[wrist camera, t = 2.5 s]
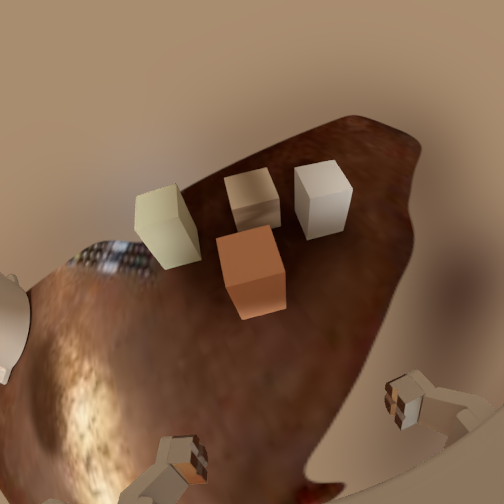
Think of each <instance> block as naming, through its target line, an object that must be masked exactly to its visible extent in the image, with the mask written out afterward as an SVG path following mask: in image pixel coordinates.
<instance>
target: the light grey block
mask: <svg viewBox="0 0 504 504" xmlns="http://www.w3.org/2000/svg"><path fill="white" fill-rule="evenodd" d="M294 172H295V213H296V215H297V217H298V220H299V222H300V224H301V227H302V229H303V232H304V234H305V236H306V239H307V240H310V239H314V238H318V237H321V236H325V235H329V234H333V233H337V232H340V231H343V229H344V225H345V221H346V217H347V213H348V209H349V205H350V200H351V196H352V191H353V188H352V187H351V185H350V183H349V182H348V180H347V179H346V177H345V176H344V174H343V172H342V171H341V169H340V168H339V166H338V165H337V163H336V162H335V160H331V161H325V162H320V163H315V164H310V165H305V166H300V167H295V168H294Z"/></svg>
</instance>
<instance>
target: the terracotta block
mask: <svg viewBox="0 0 504 504" xmlns="http://www.w3.org/2000/svg"><path fill="white" fill-rule="evenodd" d="M216 242H217V247H218V252H219V257H220V262H221V267H222V272H223V277H224V282H225V287H226V289H227V291H228V293H229V295H230V297H231V299H232V301H233V303H234V305H235V307H236V309H237V311H238V313H239V315H240V317H241V319H242V320H244V319H248V318H252V317H256V316H260V315H264V314H267V313H271V312H275V311H278V310H282V309H286V279H285V269H284V266H283V263H282V260H281V257H280V254H279V251H278V248H277V245H276V242H275V239H274V236H273V233H272V231H271V228H270V225H266V226H262V227H258V228H254V229H250V230H246V231H242V232H239V233H235V234H231V235H227V236H223V237H220V238H216Z"/></svg>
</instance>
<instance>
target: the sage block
mask: <svg viewBox="0 0 504 504" xmlns="http://www.w3.org/2000/svg"><path fill="white" fill-rule="evenodd" d="M134 226H135V227H134V230H135V231H136V233H137V234H138V235H139V237H140V238H141V239H142V241H143V242H144V243H145V245H146V246H147V247H148V249H149V250H150V251H151V253H152V254H153V255H154V256H155V258H156V259H157V260H158V262H159V263H160V264H161V265H162V267H163V268H164V269H165V270H166V269H170V268H174V267H177V266H181V265H185V264H189V263H192V262H196V261H200V260H202V259H201V253H200V246H199V239H198V232H197V228H196V226H195V224H194V221H193V219H192V217H191V215H190V213H189V211H188V209H187V206H186V204H185V202H184V200H183V198H182V195H181V193H180V191H179V189H178V187H177V184H173V185H170V186H167V187H163V188H160V189H157V190H154V191H151V192H148V193H145V194H142V195H139V196H136V207H135V225H134Z"/></svg>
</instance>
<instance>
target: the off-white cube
mask: <svg viewBox="0 0 504 504" xmlns="http://www.w3.org/2000/svg"><path fill="white" fill-rule="evenodd" d="M224 181H225V185H226V189H227V193H228V197H229V201H230V205H231V209H232V213H233V216H234V220H235V224H236V227H237V231H238V233H239V232H242V231H246V230H250V229H254V228H258V227H262V226H266V225H270V228H271V229H272V228H276V227H280V226H281V217H280V201H279V196H278V194H277V191H276V189H275V186H274V184H273V181H272V179H271V177H270V174H269V172H268V169H267V167H266V168H262V169H258V170H253V171H249V172H245V173H241V174H237V175H233V176H229V177H225V178H224Z"/></svg>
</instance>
